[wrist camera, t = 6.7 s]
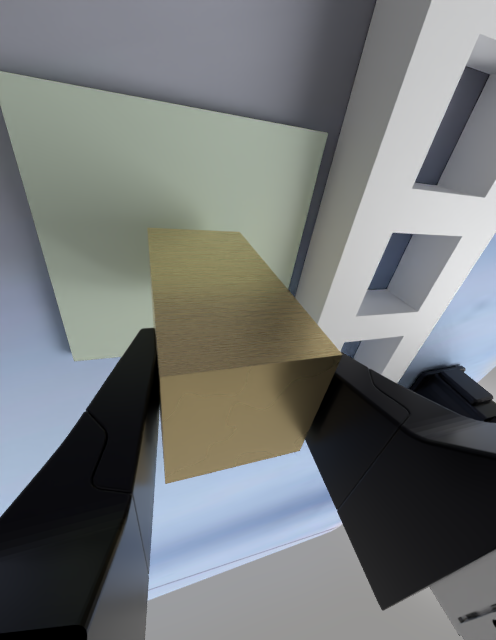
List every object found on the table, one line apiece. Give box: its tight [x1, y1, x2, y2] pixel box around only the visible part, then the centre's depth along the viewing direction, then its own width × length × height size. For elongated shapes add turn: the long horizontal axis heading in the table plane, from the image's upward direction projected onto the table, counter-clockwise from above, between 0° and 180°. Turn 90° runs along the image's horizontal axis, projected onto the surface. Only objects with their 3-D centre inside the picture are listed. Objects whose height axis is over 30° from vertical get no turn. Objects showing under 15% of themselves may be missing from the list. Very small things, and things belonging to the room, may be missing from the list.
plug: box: [147, 228, 342, 484], centre depth 10 cm, size 4×4×8 cm
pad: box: [0, 71, 328, 361], centre depth 14 cm, size 12×12×1 cm
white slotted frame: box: [295, 0, 496, 383], centre depth 17 cm, size 22×10×3 cm, turn 171°
